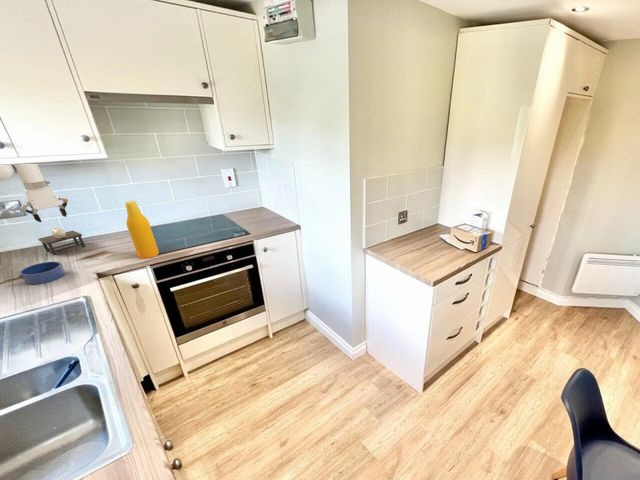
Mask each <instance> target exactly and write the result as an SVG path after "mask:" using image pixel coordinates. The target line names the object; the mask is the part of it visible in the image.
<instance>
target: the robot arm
mask: <svg viewBox="0 0 640 480" xmlns="http://www.w3.org/2000/svg"><path fill="white" fill-rule="evenodd" d="M13 175H18V177H19V179H20V181H21V182H22V185H23V187H24V189H23V194H24V197H25V200H26V201H27V202H25V203H24V204H22V205H21V206H20V207H19V209H21V210H22V211H24V212H25V213H28V214H30V215H32V216H33V219H34V220H35V221H36V222H38V223H42V219H41V217H40V215H39V214H38V211H40V210H41V211H42V210H47V209H52V208H56V207H58V209H59V212H60V214H61V216H62V217H64V218H65V217H68V213H67V211H66V207H67V206H68V201H69V199H68V198H64V197H58V196H57V195H56V193H55V191H54V190H53V189H52V188H51V187H50V185H49V184H51V182H50V180H46V179H45V178H44V175H43V174H42V171H41V170H40V168H39V165H38V163H37V164H19V165H0V180H6V179H9V178H11V177H13ZM60 201H62V203H61V202H60ZM27 208H30V209H31V210H29V209H27Z"/></svg>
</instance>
